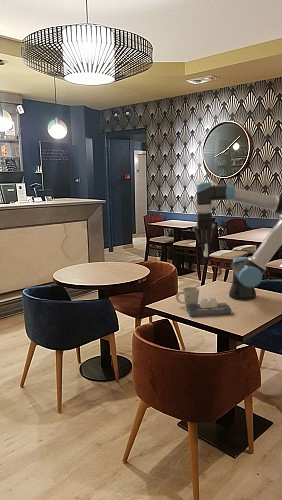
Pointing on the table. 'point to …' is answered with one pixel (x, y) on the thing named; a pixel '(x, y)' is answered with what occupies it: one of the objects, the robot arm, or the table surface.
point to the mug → (189, 296)
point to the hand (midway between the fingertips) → (205, 256)
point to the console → (208, 310)
